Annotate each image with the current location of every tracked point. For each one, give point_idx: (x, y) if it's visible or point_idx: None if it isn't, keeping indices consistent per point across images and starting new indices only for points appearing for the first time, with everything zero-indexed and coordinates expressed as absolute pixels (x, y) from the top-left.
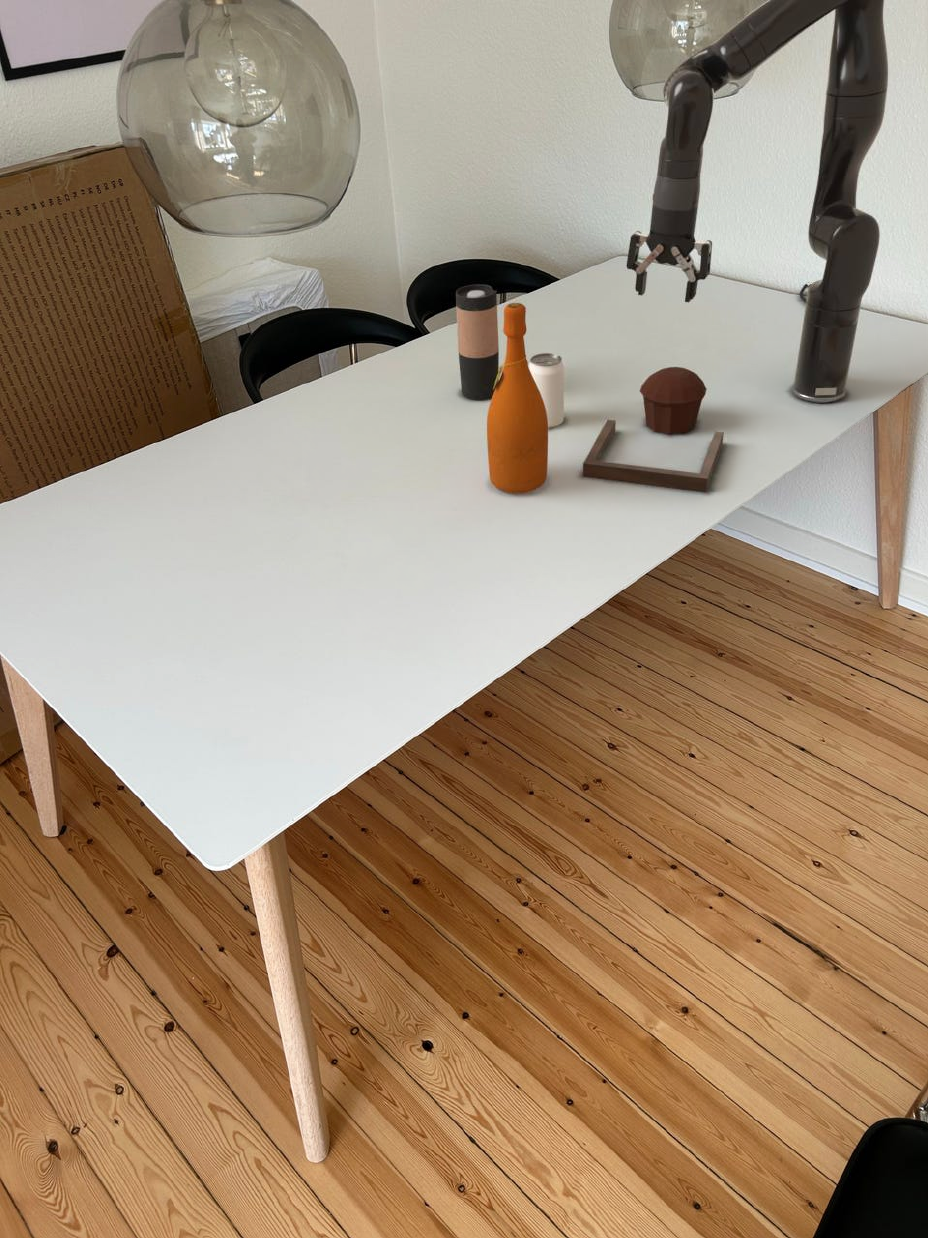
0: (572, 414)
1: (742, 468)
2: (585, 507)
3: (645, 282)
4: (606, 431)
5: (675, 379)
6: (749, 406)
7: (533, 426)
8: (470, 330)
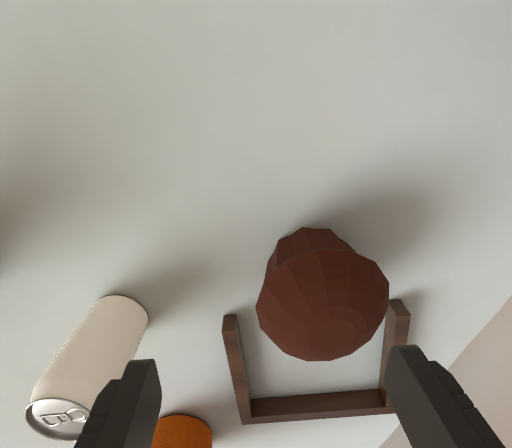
0: (144, 283)
1: (430, 342)
2: (269, 443)
3: (138, 423)
4: (236, 361)
5: (339, 356)
6: (445, 149)
7: None
8: None
